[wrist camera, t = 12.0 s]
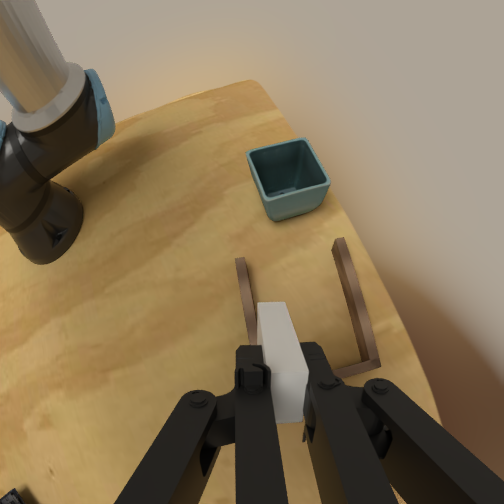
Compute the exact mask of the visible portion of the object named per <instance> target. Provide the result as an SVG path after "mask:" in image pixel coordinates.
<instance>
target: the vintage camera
mask: <svg viewBox="0 0 504 504" xmlns="http://www.w3.org/2000/svg"><path fill="white" fill-rule="evenodd" d="M0 504H25V503H24V501H23V500H22V498H21V497H20V495H19V494H18V492H17V491H16V489H15V488H14V489H12V490H11V491H10V492H8V493H7V494H6V495H5V496H3V497H2V498H1V499H0Z"/></svg>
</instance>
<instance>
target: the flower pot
mask: <svg viewBox="0 0 504 504" xmlns="http://www.w3.org/2000/svg"><path fill="white" fill-rule="evenodd" d="M246 157H247V160H248V164H249V167H250V171H251V174H252V177H253V179H254V182H255V184H256V187H257V189H258V192H259V194H260V197H261V199H262V202H263V205H264V207H265V210H266V213H267V215H268V217H269V218H270V219H271V220H272V221H280V220H283V219H286V218H290V217H293V216H297V215H300V214H304V213H307V212H309V211H312V210H313V209H315V208H317V207H318V206H319V205H320V204H321V203H322V201H323V199H324V197H325V195H326V193H327V191H328V188H329V186H330V184H331V180H330V178H329V176H328V174H327V173H326V171H325V169H324V167H323V166H322V164H321V162H320V160H319V159H318V157H317V155H316V153H315V152H314V150H313V148H312V147H311V145H310V143H309V141H308V140H307V139H306V138H297V139H292V140H289V141H285V142H280V143H276V144H273V145H268V146H263V147H259V148H255V149H252V150H249V151H247V152H246ZM281 194H282V195H281Z"/></svg>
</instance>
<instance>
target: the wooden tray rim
mask: <svg viewBox="0 0 504 504" xmlns="http://www.w3.org/2000/svg"><path fill="white" fill-rule="evenodd" d="M331 251H332V254H333V257H334V260H335V264H336V267H337V270H338V274H339V277H340V280H341V284H342V287H343V291H344V294H345V298H346V302H347V305H348V309H349V313H350V316H351V320H352V324H353V328H354V332H355V335H356V339H357V343H358V347H359V352H360V356H361V360H362V362H361V363H358V364H354V365H351V366H347V367H343V368H340V369H336V370H332V372H333V374H334V375H335V376H337V377H339V378H345V377H349V376H352V375H356V374H359V373H363V372H366V371H369V370H373V369H376V368H379V367H381V363H380V359H379V355H378V351H377V347H376V343H375V339H374V335H373V331H372V328H371V324H370V320H369V317H368V313H367V309H366V306H365V302H364V299H363V296H362V292H361V289H360V286H359V282H358V279H357V276H356V273H355V269H354V266H353V263H352V260H351V257H350V254H349V251H348V248H347V245H346V242H345V239H344V237H342V238H337V239H335V242H334V245H333V248H332V250H331ZM235 263H236V269H237V275H238V280H239V286H240V292H241V298H242V303H243V309H244V315H245V320H246V326H247V331H248V337H249V342H250V345H257V319H256V314H255V309H254V303H253V298H252V293H251V287H250V282H249V277H248V271H247V266H246V262H245V258H244V257H241V258H236V259H235Z"/></svg>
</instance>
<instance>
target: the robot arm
mask: <svg viewBox="0 0 504 504" xmlns="http://www.w3.org/2000/svg"><path fill="white" fill-rule="evenodd" d="M0 92H1V93H2V94H3V95H4V97H6V99H7V100H8V101H9V102H10V104H11V105H12V106H13V109H12V122H11V123H10V124H8V125H6V123H5V122H4V121H2V120H0V226H1V227H3V228H4V229H5V230H6V231H8V232H9V233H10V235H11V236H12V238H13V239H14V241H15V242H16V244H17V245H18V248H19V250H20V252H21V253H22V254H23V255H24V256H25V257H26V258H27V259H29V260H30V261H31V262H33V263H35V264H47V263H50V262H52V261H54V260H56V259H57V258H59V257H60V256H61V255H62V254H63V253H64V252H65V251H66V250H67V249H68V248H69V247H70V245H71V244H72V243H73V241H74V240H75V238H76V236H77V234H78V232H79V229H80V227H81V223H82V219H83V207H82V204H81V201H80V200H79V198H78V197H77V196H76V195H75V194H74V193H73V192H72V191H71V190H70V189H68V188H66V187H62V186H61V185H59V184H57V183H55V182H53V181H51V180H50V179H52V178H53V177H54V176H56V175H57V174H59V173H60V172H61V171H63V170H64V169H66V168H67V167H69V166H70V165H72V164H73V163H75V162H76V161H78V160H79V159H81V158H82V157H84V156H85V155H87V154H89V153H90V152H92V151H93V150H96V149H97V148H98V147H99V146H100V145H101V144H103V143H104V142H105V141H107V140H108V139H110V138H111V137H112V136H113V134H114V132H115V121H114V117H113V114H112V110H111V107H110V105H109V102H108V100H107V97H106V94H105V91H104V88H103V86H102V83H101V81H100V79H99V77H98V75H97V73H96V71H95V70H94V69H88V70H83V69H82V67H80V66H79V65H78V64H76V63H71V62H66V61H65V60H64V58H63V56H62V54H61V52H60V50H59V48H58V46H57V44H56V42H55V40H54V38H53V36H52V34H51V32H50V31H49V28H48V26H47V25H46V22H45V20H44V18H43V16H42V14H41V12H40V10H39V8H38V6H37V4H36V1H35V0H0ZM303 414H304V417H305V427H304V433H303V441H302V442H305V440H307V444H308V448H309V452H310V456H311V460H312V465H313V469H314V473H315V477H316V481H317V485H318V490H319V494H320V498H321V502H322V504H399V503H398V501H397V499H396V496H395V494H394V492H393V490H392V487H391V485H392V486H393V488H394V489H395V490H396V491H397V492H398V494H399V495H400V496H401V497H402V498H403V500H404V501H405V502H406V503H407V504H504V481H503V480H501V479H500V478H499V477H498V476H497V475H496V474H495V473H493V471H491V470H490V469H489V468H488V467H487V466H486V465H485V464H483V463H482V462H481V461H480V460H479V459H478V458H477V457H475V456H474V455H473V454H472V453H471V452H470V451H469V450H468V449H466V448H465V447H464V446H463V445H462V444H461V443H460V442H458V441H457V440H456V439H455V438H454V437H453V436H452V435H451V434H449V433H448V432H447V431H446V430H445V429H444V428H443V427H442V426H441V425H439V424H438V423H437V422H436V421H435V420H434V419H433V418H432V417H430V416H429V415H428V414H427V413H426V412H425V411H424V410H423V409H421V408H420V407H419V406H418V405H417V404H416V403H415V402H414V401H412V400H411V399H410V398H409V397H408V396H407V395H406V394H405V393H404V392H402V391H401V390H400V389H399V388H398V387H397V386H396V385H395V384H393V383H392V382H390V381H389V380H386V379H382V378H375V379H371V380H369V381H367V382H366V383H365V385H364V388H362V387H351V386H347V385H345V384H344V382H343V381H342V379H341V378H339V377H337V376H335V375H334V374H333V372H332V370H331V367H330V365H329V363H328V361H327V359H326V356H325V354H324V352H323V350H322V348H321V346H319V345H318V344H317V343H315V342H303V343H299V341H298V338H297V335H296V332H295V330H294V327H293V324H292V321H291V318H290V315H289V312H288V310H287V307H286V304H285V302H258V306H257V345H240V347H239V348H238V349H237V350H236V369H235V387H234V389H233V390H232V391H231V392H229V393H227V394H225V395H222V396H217V397H215V395H213V394H212V393H211V392H208V391H205V390H194V391H190V392H188V393H186V394H184V395H183V396H182V397H181V399H180V400H179V402H178V404H177V405H176V407H175V408H174V410H173V412H172V413H171V415H170V416H169V418H168V420H167V421H166V423H165V424H164V426H163V428H162V429H161V431H160V432H159V434H158V435H157V437H156V439H155V440H154V442H153V443H152V445H151V447H150V448H149V450H148V451H147V453H146V454H145V456H144V458H143V459H142V461H141V462H140V464H139V465H138V467H137V469H136V470H135V472H134V473H133V475H132V476H131V478H130V479H129V481H128V483H127V484H126V486H125V487H124V489H123V490H122V492H121V493H120V495H119V496H118V498H117V500H116V501H115V503H114V504H198V503H199V501H200V498H201V496H202V494H203V491H204V489H205V486H206V484H207V482H208V479H209V477H210V474H211V472H212V469H213V467H214V464H215V462H216V459H217V457H218V454H219V452H220V449H221V446H224V445H228V444H232V443H235V474H236V504H288V497H287V491H286V484H285V478H284V472H283V465H282V459H281V452H280V446H279V439H278V433H277V426H276V424H280V423H294V422H302V420H303ZM386 426H387V427H386ZM390 484H391V485H390Z"/></svg>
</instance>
